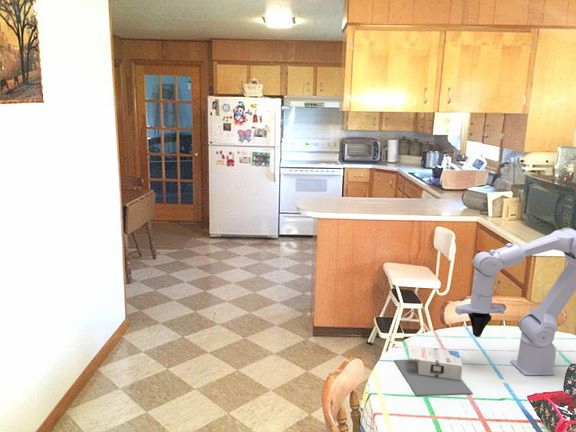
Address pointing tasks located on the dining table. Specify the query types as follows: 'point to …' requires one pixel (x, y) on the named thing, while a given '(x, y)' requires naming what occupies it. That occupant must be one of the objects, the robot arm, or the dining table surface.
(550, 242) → the robot arm
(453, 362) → the ink box
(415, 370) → the rubber mat
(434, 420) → the dining table surface
